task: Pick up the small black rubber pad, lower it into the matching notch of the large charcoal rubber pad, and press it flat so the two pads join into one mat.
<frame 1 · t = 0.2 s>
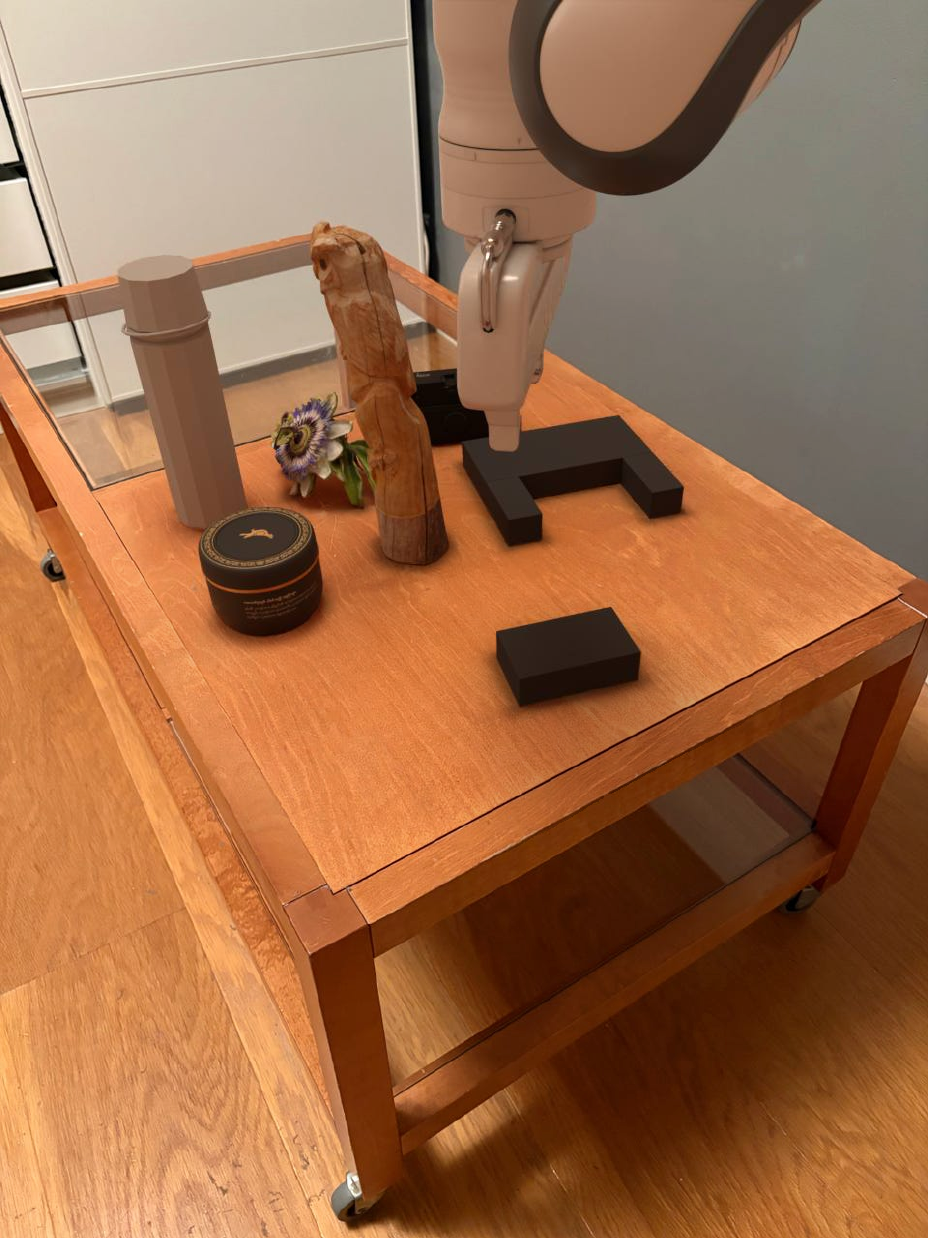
hand: (518, 410, 62), 23 cm above the table, tool pointing down, fingers open, 8 cm apart
black pad: (566, 669, 77), on the table
sculpture: (400, 550, 91), on the table
base pad: (567, 488, 98), on the table
water bottle: (211, 512, 97), on the table
camera: (452, 432, 109), on the table
jar: (271, 608, 85), on the table
passion flower: (333, 485, 101), on the table
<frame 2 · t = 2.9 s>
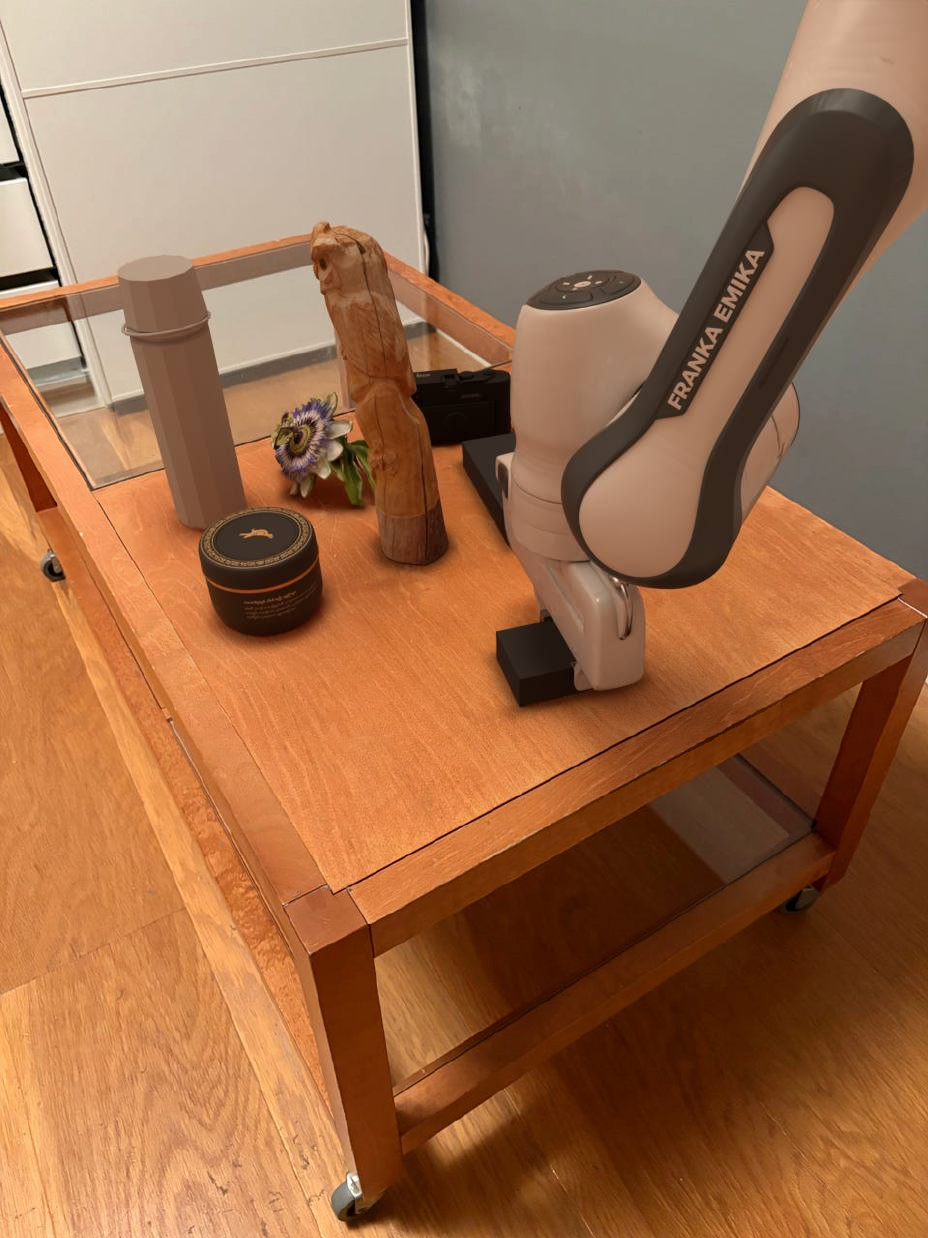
hand: (566, 653, 76), 2 cm above the table, tool pointing down, fingers closed on black pad, 6 cm apart
black pad: (566, 669, 77), on the table, touching gripper
everything else where it was.
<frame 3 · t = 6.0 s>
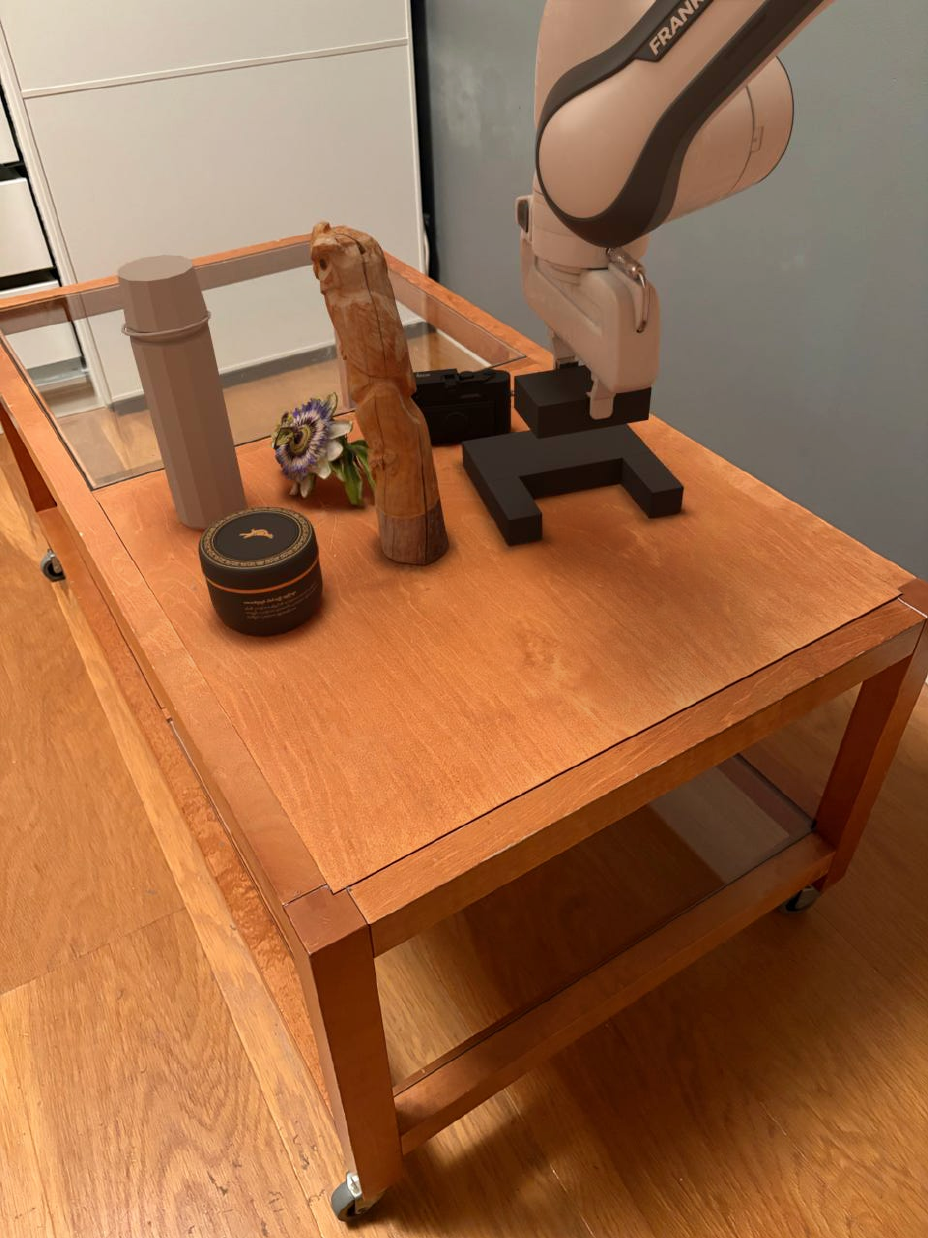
hand: (581, 395, 80), 16 cm above the table, tool pointing down, fingers closed on black pad, 6 cm apart
black pad: (580, 413, 81), point 14 cm above the table, touching gripper
everything else where it was.
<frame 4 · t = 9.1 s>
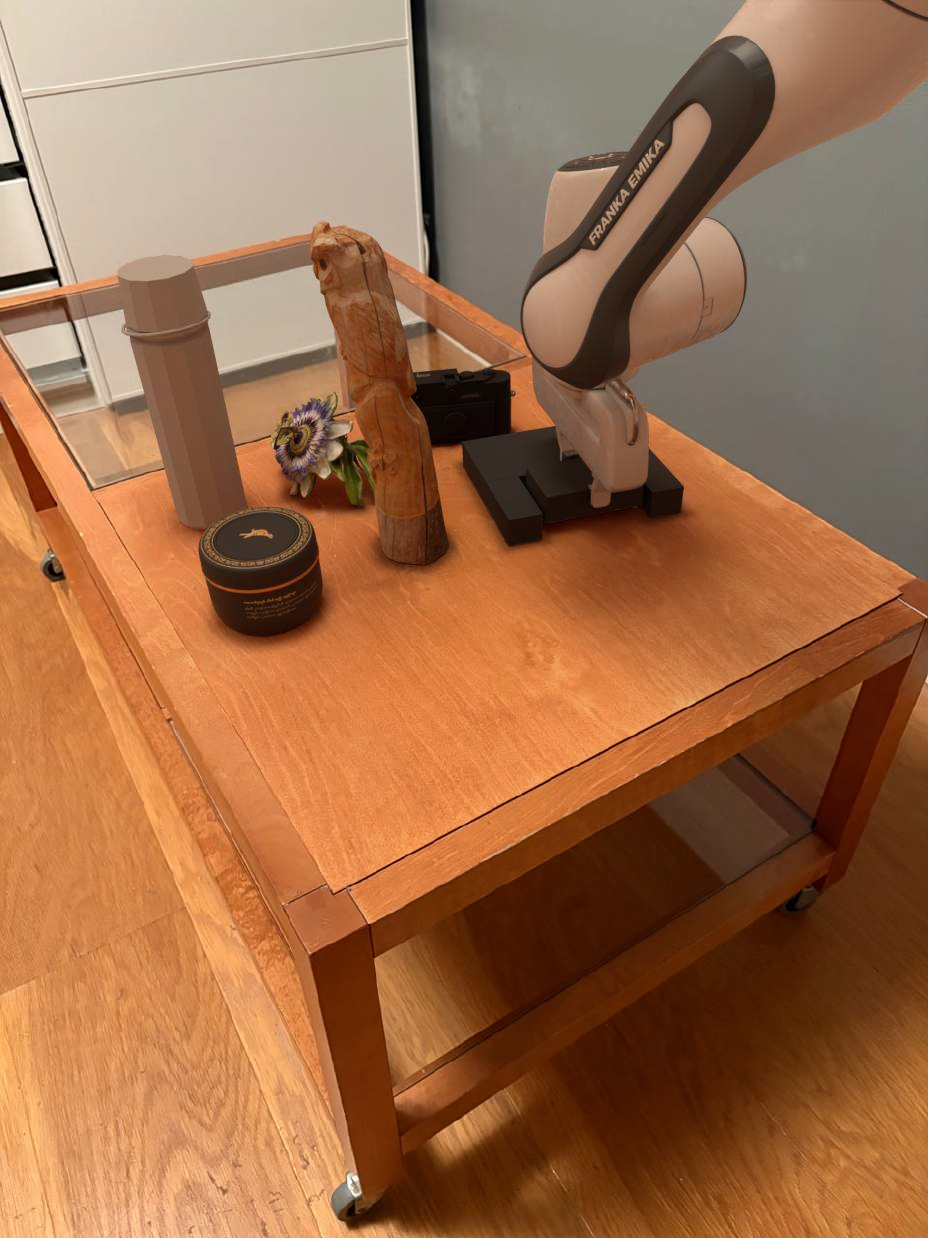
hand: (583, 484, 93), 3 cm above the table, tool pointing down, fingers closed on black pad, 6 cm apart
black pad: (583, 499, 94), point 1 cm above the table, touching gripper
everything else where it was.
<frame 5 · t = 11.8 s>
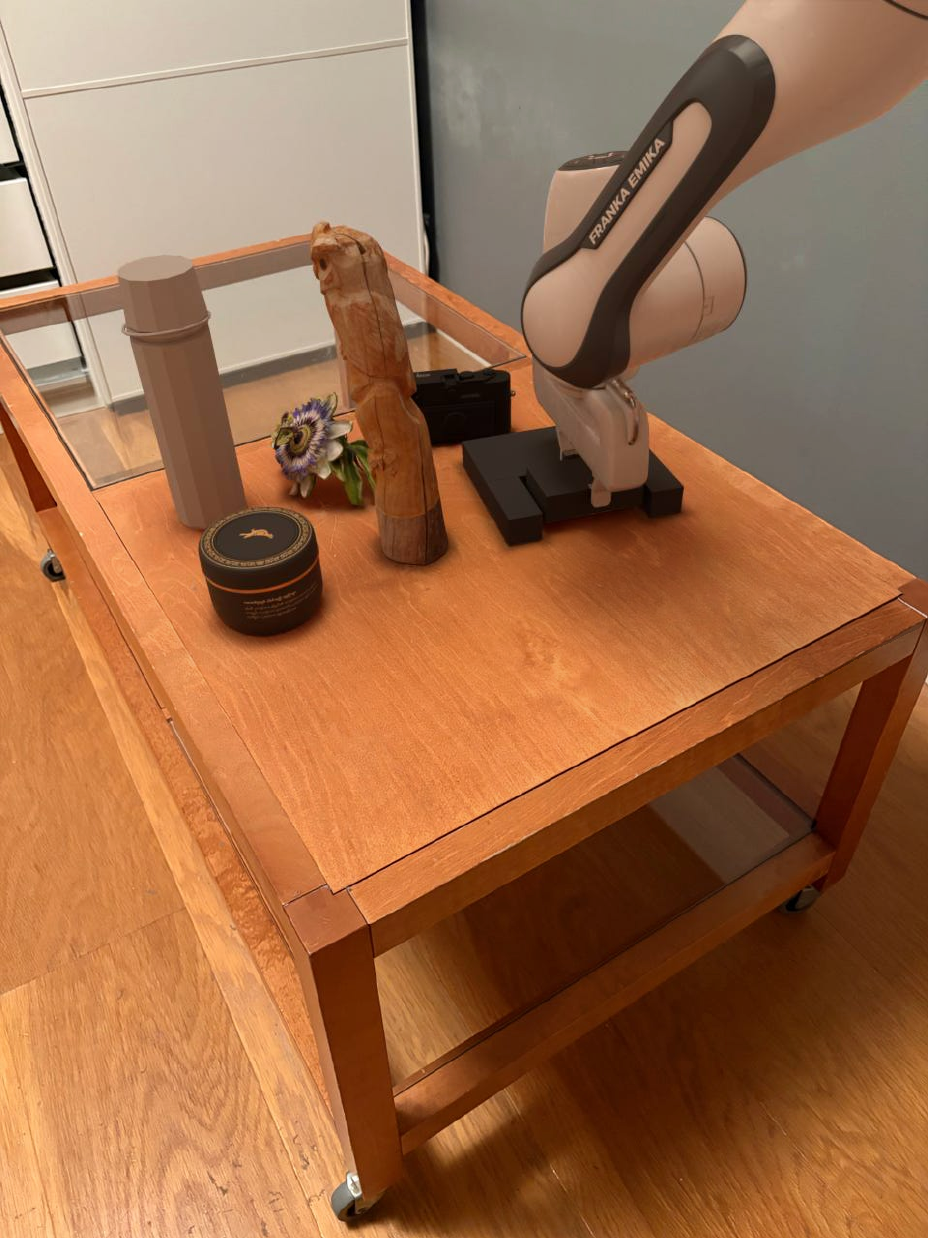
hand: (584, 483, 93), 3 cm above the table, tool pointing down, fingers closed on black pad, 6 cm apart
black pad: (583, 498, 94), point 1 cm above the table, touching gripper
everything else where it was.
when the fingers open (3 cm above the table, at t = 13.8 s): black pad drops 2 cm, on the table.
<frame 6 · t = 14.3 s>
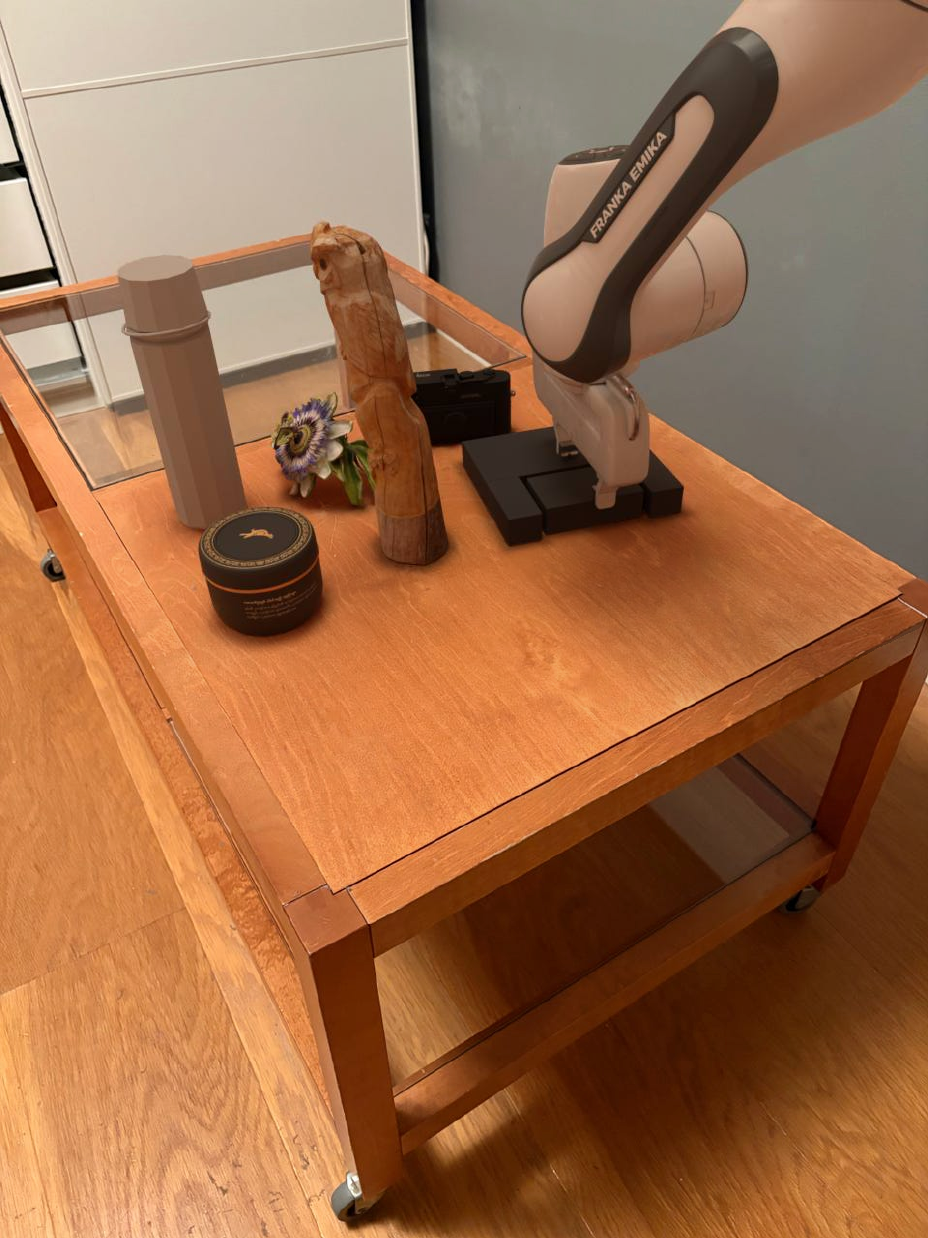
hand: (584, 479, 93), 3 cm above the table, tool pointing down, fingers open, 8 cm apart
black pad: (583, 510, 95), on the table
everything else where it was.
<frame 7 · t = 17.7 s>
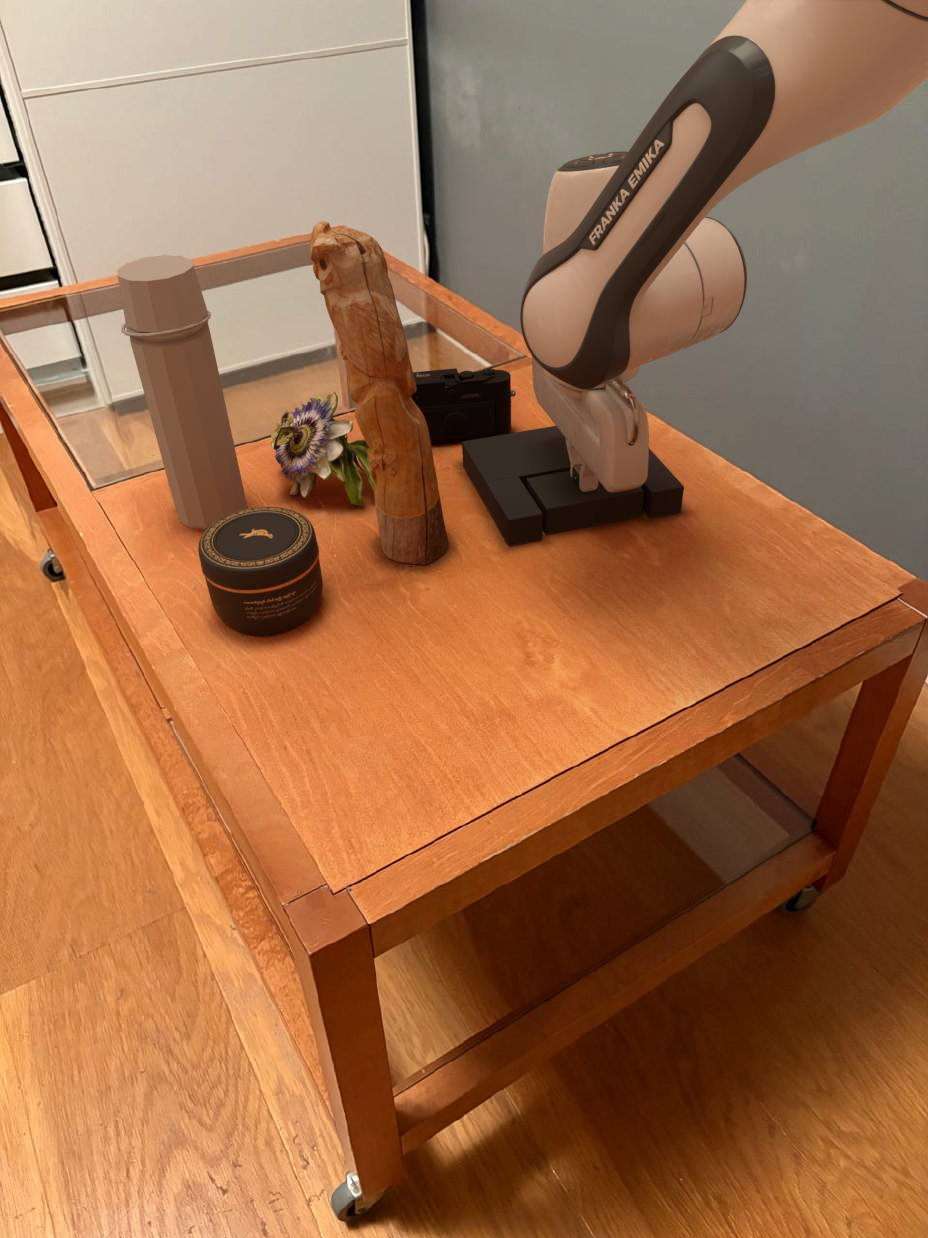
hand: (583, 483, 93), 3 cm above the table, tool pointing down, fingers closed, pressing on black pad
black pad: (583, 510, 95), on the table, touching gripper
everything else where it was.
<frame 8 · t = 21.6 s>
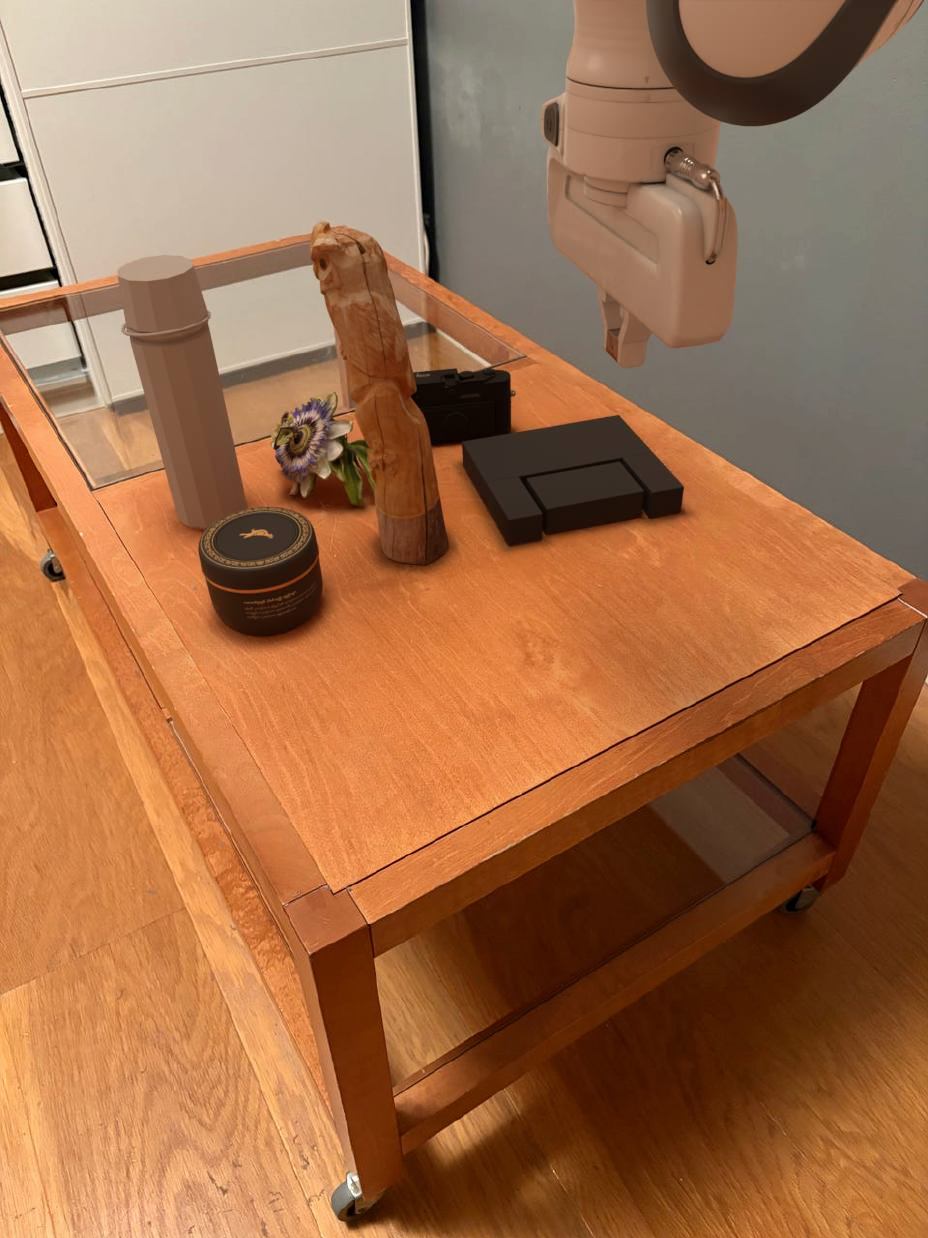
hand: (623, 358, 63), 25 cm above the table, tool pointing down, fingers closed
black pad: (583, 510, 95), on the table
everything else where it was.
at the end: black pad 0.0 cm from the target spot on the base pad, point 0.0 cm above the base pad's base; black pad tilted 0° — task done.
